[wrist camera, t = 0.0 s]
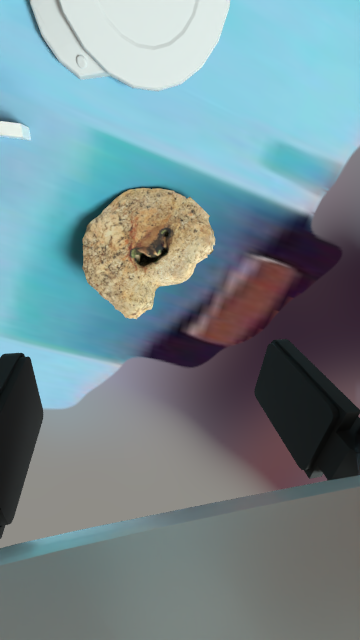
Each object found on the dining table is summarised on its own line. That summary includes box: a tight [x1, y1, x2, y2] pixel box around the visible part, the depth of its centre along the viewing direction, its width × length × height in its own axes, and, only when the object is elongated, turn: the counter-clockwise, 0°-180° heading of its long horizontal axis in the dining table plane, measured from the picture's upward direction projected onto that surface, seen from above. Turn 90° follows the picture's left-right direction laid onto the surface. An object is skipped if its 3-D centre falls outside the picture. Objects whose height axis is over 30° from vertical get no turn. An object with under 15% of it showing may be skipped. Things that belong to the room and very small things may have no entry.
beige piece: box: [83, 188, 215, 319], centre depth 36 cm, size 18×14×8 cm
